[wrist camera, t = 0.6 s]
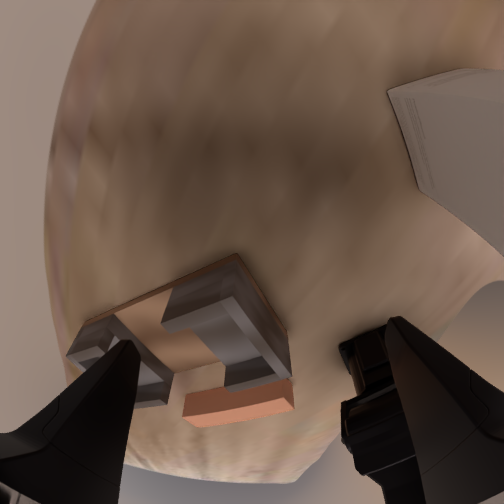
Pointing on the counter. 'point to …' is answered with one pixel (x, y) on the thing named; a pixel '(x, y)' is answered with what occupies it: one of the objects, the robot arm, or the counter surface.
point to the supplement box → (458, 144)
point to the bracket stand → (193, 332)
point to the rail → (238, 404)
